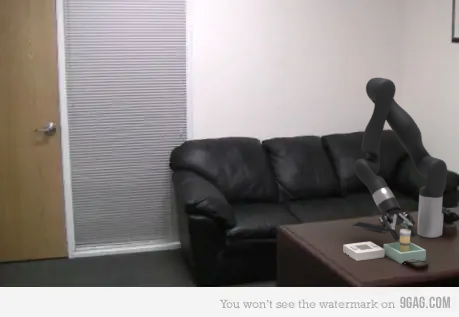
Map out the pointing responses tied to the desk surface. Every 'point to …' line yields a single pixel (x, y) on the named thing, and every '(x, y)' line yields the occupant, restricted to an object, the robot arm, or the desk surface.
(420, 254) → the parts tray
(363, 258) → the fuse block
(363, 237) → the desk surface
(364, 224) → the phone
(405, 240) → the white and tan cylinder
